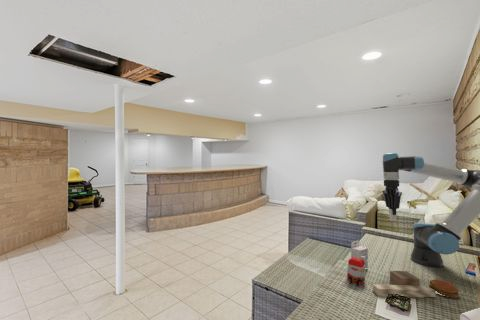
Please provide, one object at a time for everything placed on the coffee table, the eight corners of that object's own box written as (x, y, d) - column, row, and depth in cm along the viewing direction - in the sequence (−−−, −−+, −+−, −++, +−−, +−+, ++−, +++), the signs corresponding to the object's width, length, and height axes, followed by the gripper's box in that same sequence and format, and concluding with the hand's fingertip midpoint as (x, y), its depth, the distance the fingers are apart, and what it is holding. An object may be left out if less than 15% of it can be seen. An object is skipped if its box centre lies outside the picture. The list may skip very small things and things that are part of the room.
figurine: (344, 281, 107) (344, 256, 108) (349, 276, 112) (349, 252, 113) (364, 288, 101) (363, 261, 102) (368, 282, 106) (368, 257, 107)
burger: (464, 299, 94) (464, 288, 94) (442, 298, 94) (441, 287, 94) (444, 287, 103) (443, 277, 104) (423, 287, 104) (423, 276, 104)
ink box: (360, 272, 117) (359, 244, 118) (350, 269, 121) (350, 241, 122) (368, 269, 122) (367, 242, 123) (359, 266, 126) (358, 239, 127)
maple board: (427, 292, 98) (427, 285, 99) (435, 297, 94) (435, 290, 95) (373, 291, 99) (373, 284, 99) (378, 296, 95) (378, 288, 95)
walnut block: (406, 283, 106) (406, 271, 107) (420, 292, 98) (419, 279, 99) (390, 283, 107) (389, 270, 107) (402, 292, 99) (401, 278, 99)
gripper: (377, 179, 137) (379, 218, 135) (392, 179, 124) (394, 222, 122) (389, 179, 137) (391, 218, 135) (406, 179, 124) (408, 222, 122)
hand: (393, 220), depth 129 cm, fingers closed
